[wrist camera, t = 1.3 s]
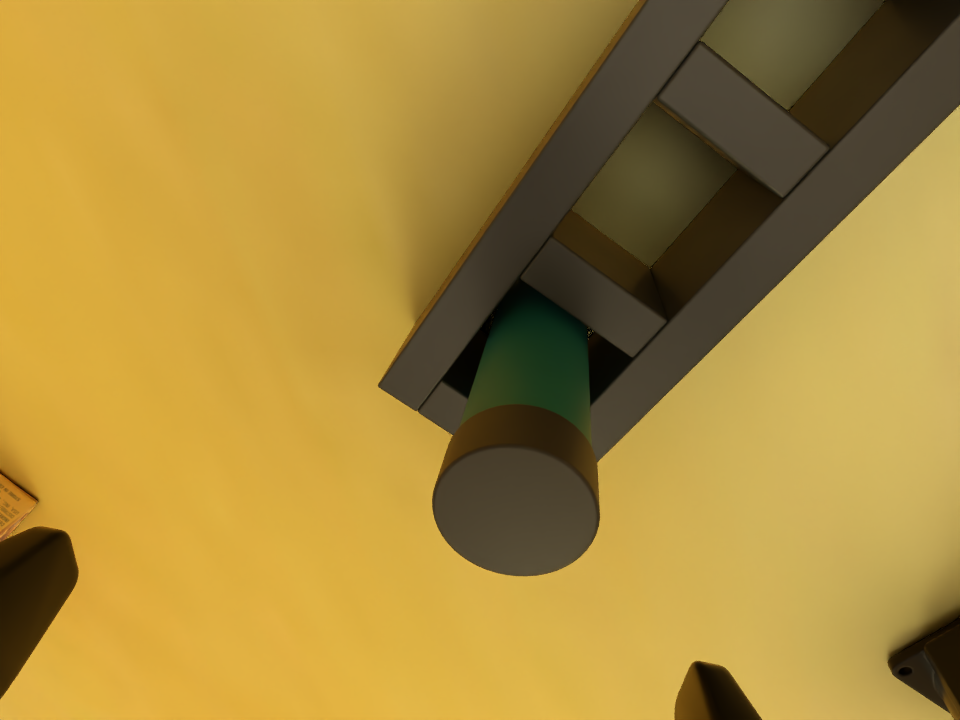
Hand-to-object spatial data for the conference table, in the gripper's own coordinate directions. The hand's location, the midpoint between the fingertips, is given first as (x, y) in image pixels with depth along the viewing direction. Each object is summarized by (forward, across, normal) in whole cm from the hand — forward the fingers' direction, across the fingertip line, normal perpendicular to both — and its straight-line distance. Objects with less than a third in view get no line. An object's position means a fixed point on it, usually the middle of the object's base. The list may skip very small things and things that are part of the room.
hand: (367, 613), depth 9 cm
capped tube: (+14, -2, 0) cm, 14 cm away
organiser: (+14, -4, -4) cm, 15 cm away
